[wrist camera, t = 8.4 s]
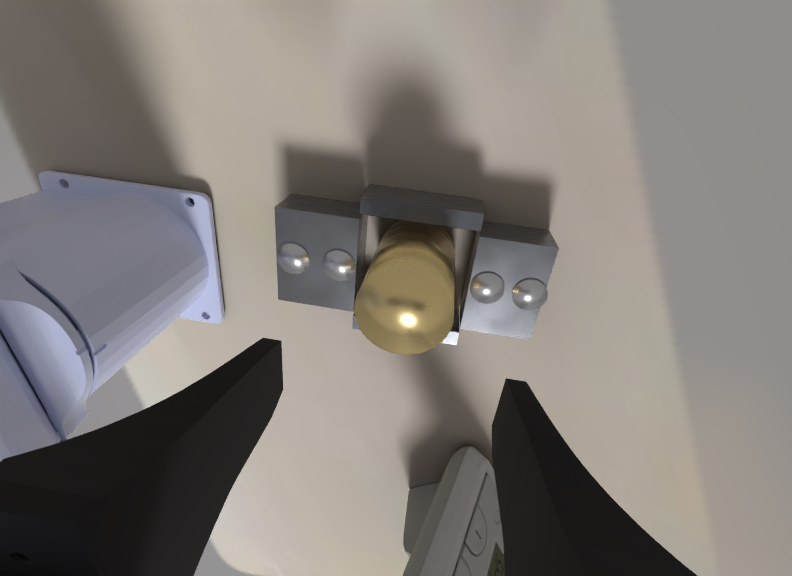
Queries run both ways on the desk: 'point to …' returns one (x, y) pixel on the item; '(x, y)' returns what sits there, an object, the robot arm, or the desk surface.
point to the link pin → (409, 289)
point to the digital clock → (456, 521)
